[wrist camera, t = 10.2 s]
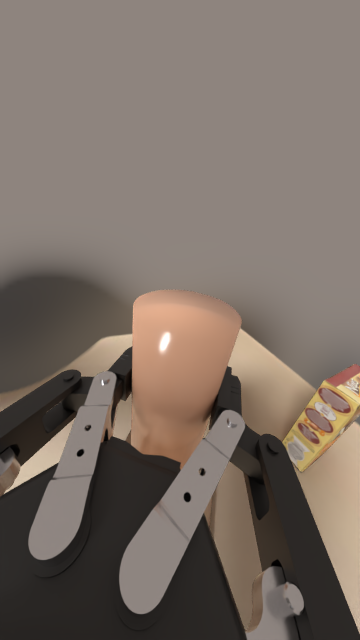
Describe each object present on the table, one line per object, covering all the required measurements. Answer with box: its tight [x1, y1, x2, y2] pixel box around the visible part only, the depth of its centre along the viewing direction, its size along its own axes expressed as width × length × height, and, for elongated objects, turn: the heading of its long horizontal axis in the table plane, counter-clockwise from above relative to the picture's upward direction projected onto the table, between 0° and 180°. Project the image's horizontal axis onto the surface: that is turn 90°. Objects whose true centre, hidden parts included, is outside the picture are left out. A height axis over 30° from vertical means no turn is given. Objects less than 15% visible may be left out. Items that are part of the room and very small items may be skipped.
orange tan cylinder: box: [131, 290, 242, 469], centre depth 13 cm, size 6×6×13 cm
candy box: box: [282, 364, 360, 472], centre depth 27 cm, size 9×4×15 cm, turn 118°
